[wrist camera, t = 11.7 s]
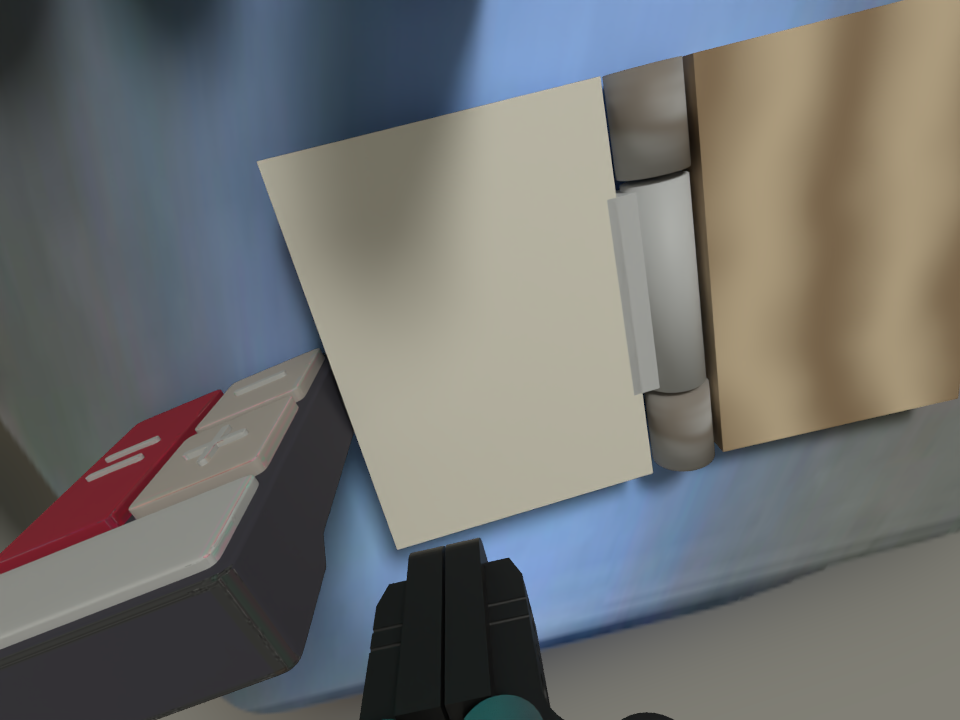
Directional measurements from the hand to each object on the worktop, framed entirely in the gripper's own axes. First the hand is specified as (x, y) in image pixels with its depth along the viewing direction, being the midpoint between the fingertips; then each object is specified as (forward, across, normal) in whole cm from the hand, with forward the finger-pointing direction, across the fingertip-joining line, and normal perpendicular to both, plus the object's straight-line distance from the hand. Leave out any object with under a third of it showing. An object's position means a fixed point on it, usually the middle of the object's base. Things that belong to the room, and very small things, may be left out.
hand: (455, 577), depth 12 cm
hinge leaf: (+15, -10, 0) cm, 18 cm away
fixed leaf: (+16, -17, 0) cm, 24 cm away
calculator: (+17, +11, +2) cm, 20 cm away
